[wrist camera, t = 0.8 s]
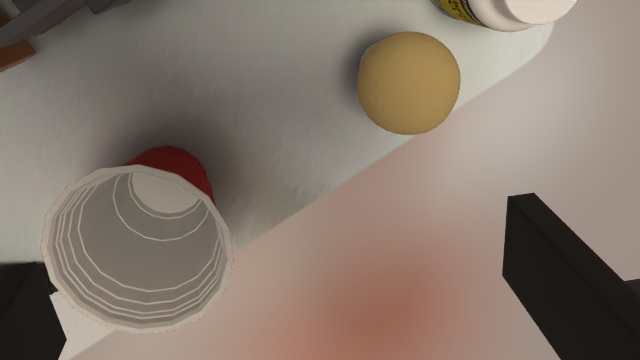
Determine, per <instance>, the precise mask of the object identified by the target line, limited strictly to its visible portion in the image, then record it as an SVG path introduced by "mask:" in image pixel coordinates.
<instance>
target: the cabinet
mask: <svg viewBox="0 0 640 360" xmlns="http://www.w3.org/2000/svg"><path fill="white" fill-rule="evenodd" d="M84 1H85V2H86V4H87V5H88V6H89V8H90V9H91V10H92V12H93V13H94V14H97V13H100V12H103V11H106V10H109V9H112V8H114V7H117V6H120V5H123V4H126V3H129V2H131V1H133V0H84Z"/></svg>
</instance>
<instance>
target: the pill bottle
mask: <svg viewBox="0 0 640 360" xmlns="http://www.w3.org/2000/svg"><path fill="white" fill-rule="evenodd" d="M432 1H433V2H434V4H435V5H436V7H437V8H438V9H439V10H440V11H442V12H443V13H444V14H446V15H448V16H450V17H452V18H455V19H458V20H462V21H465V22H469V23H472V24H476V25H479V26H483V27H487V28H490V29H493V30H497V31H502V32H517V31H522V30H526V29H528V28H531V27H533V26H535V25H543V24H548V23H551V22H553V21H555V20H557V19H559V18H560V17H562V16H563V15H564V14H566V13H567V12H568V11H569V10H570V9H571V8H572V6H573V5H574V4H575V2H576V1H577V0H432Z"/></svg>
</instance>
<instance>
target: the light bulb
mask: <svg viewBox="0 0 640 360" xmlns="http://www.w3.org/2000/svg"><path fill="white" fill-rule="evenodd" d="M459 89H460V70H459V67H458V64H457V61H456V59H455V58H454V56H453V55H452V53H451V51H450V50H449V49H448V48H447V47H446V46H445V45H444V44H443V43H441V42H440V41H438V40H437V39H435V38H434V37H432V36H429V35H427V34H424V33H419V32H401V33H396V34H393V35H390V36H388V37H386V38H384V39H382V40H381V41H379V42H376V43H374V44H372V45H371V46H370V47H368V48H367V49H366V51H365V52H364V53H363V55H362V57H361V60H360V69H359V73H358V79H357V90H358V97H359V100H360V103H361V105H362V108H363V110H364V111H365V113H366V114H367V116H368V117H369V118H370V119H371V120H372V121H373V122H374V123H375V124H377V125H378V126H380V127H381V128H383V129H385V130H387V131H390V132H393V133H397V134H403V135H415V134H420V133H425V132H428V131H430V130H432V129H434V128H436V127H437V126H438V125H440V124H441V123H442V122H443V121H444V120H445V119H446V117H447V116H448V115H449V114H450V112H451V110H452V108H453V106H454V105H455V103H456V100H457V97H458V94H459Z"/></svg>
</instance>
